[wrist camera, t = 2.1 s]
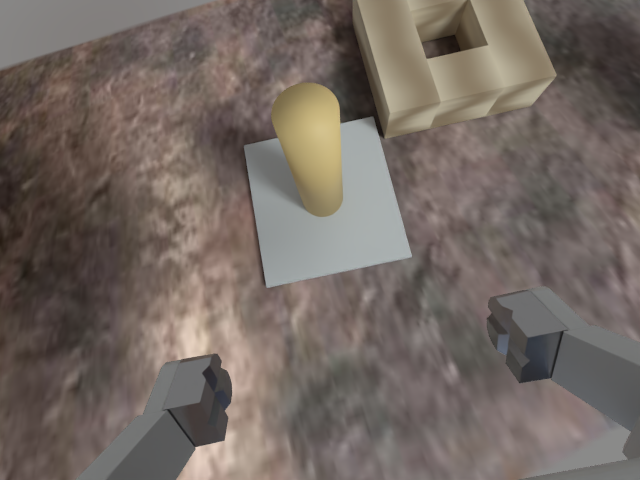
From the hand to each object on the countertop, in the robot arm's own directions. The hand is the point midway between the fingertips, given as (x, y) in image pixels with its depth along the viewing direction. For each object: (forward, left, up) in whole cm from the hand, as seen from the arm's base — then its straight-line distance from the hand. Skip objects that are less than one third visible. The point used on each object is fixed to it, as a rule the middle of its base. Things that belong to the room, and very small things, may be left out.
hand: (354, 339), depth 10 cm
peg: (0, +10, -14) cm, 17 cm away
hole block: (+12, +20, -15) cm, 28 cm away
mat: (0, +10, -15) cm, 18 cm away
